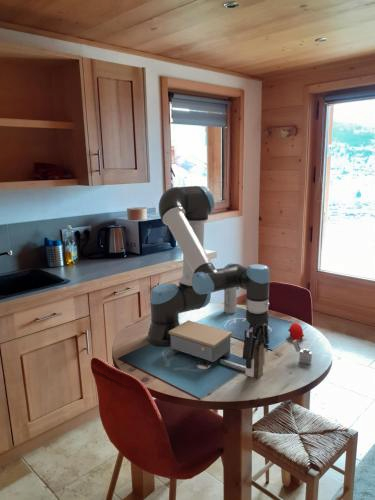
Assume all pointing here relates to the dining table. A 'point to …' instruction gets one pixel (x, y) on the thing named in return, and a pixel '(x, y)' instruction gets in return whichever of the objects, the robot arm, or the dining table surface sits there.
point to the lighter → (303, 353)
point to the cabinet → (200, 340)
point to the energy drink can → (230, 300)
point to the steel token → (203, 365)
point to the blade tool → (257, 361)
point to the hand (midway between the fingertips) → (255, 369)
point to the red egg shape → (296, 331)
